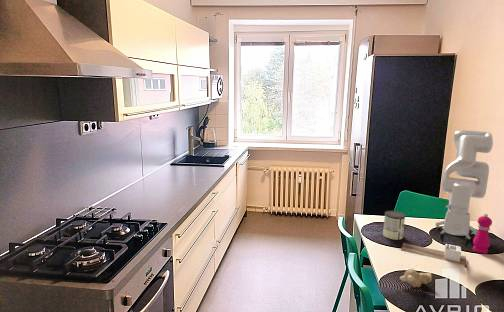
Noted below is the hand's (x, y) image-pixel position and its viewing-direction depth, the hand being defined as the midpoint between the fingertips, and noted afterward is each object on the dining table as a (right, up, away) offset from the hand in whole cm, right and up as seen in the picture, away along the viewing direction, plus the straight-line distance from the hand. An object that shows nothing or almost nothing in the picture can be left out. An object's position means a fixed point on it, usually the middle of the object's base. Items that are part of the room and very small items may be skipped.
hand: (453, 243), depth 164 cm
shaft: (-1, -7, +1) cm, 7 cm away
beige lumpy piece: (-29, -12, -21) cm, 38 cm away
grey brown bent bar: (-8, -8, +5) cm, 12 cm away
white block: (-1, -7, +1) cm, 7 cm away
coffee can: (-19, -4, +25) cm, 31 cm away
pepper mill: (+20, -7, +12) cm, 25 cm away
